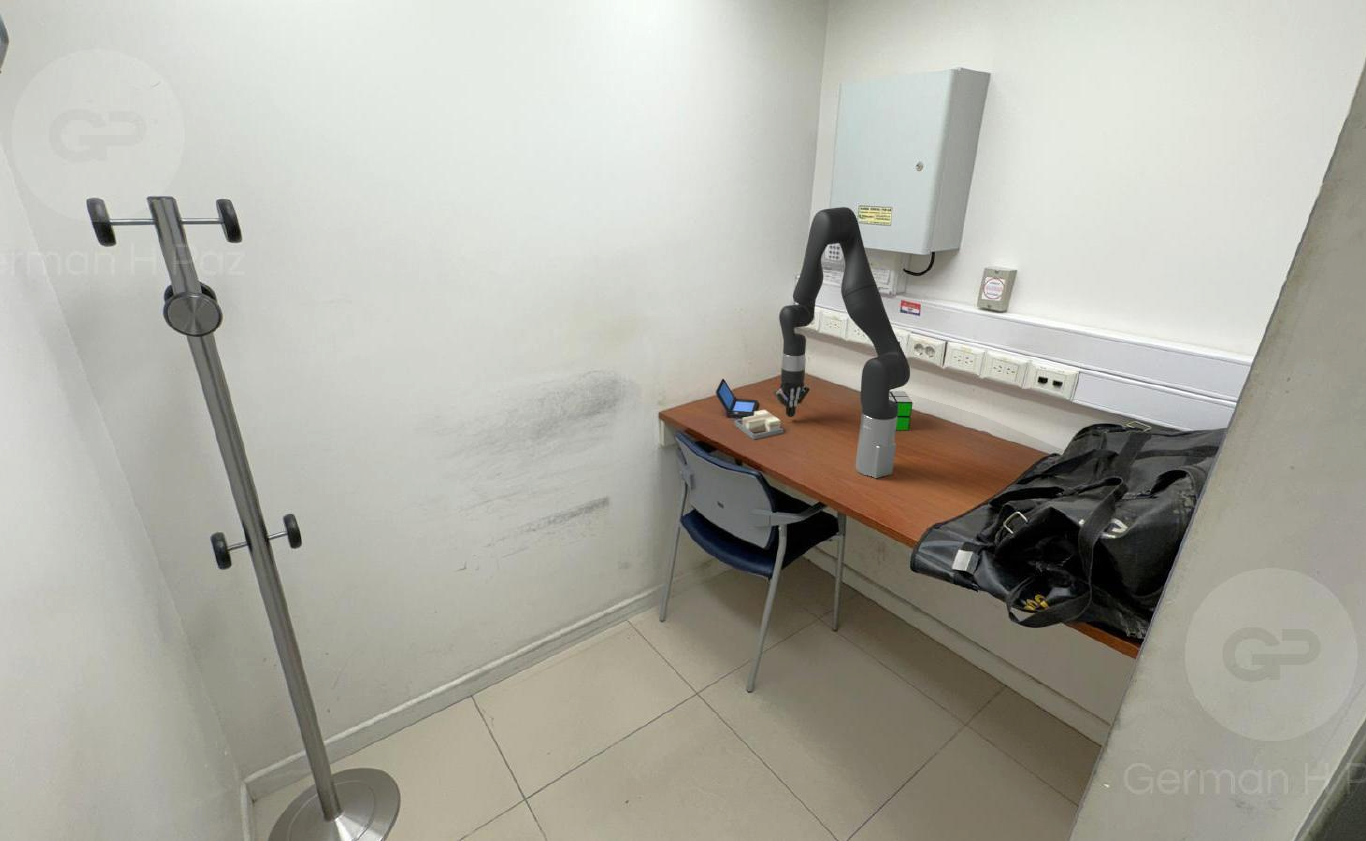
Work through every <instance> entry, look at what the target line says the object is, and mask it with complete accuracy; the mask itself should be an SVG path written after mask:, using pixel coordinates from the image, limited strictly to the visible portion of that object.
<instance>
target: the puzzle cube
mask: <svg viewBox="0 0 1366 841" xmlns="http://www.w3.org/2000/svg"><path fill="white" fill-rule="evenodd" d="M889 400H892V401H894V402H895V403H897V405H898V408H899V409H898V416H897V423H896V430H895V431H905V432H906V431H909V429H910V424H911V415H912V409H913V401H912V400H911V399H910V397H909V395H908V394H907V393H906V391H903V390H902V391H901V390H899V391H898V390H890V392H889Z"/></svg>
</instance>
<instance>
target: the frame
mask: <svg viewBox="0 0 1366 841" xmlns="http://www.w3.org/2000/svg"><path fill="white" fill-rule="evenodd" d="M742 423H743V418H738V419H736V420H733V426H735V427H736V428H737V429H738V430H740V431H742V432H743V433H745V434H746V435H747V436H748V437H750V438H751V439H752V440H754V441H755V440H759V439H763V438H767V437H771V436H776V435H780V434H784V428H782V427H780V429H776V430H772V431H767V432H766V431H761V432H759V433H758V432H757V433H752V432H751V431H749V430H748V429H747V428H745V427H744V426H743V425H742Z"/></svg>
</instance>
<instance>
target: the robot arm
mask: <svg viewBox="0 0 1366 841" xmlns="http://www.w3.org/2000/svg"><path fill="white" fill-rule="evenodd" d="M860 228H861V227H860V225H859V222H858V219H857V216H856V214H855V212H854V210H852V209H851V208H849V207H848V206H847V207H845V206H842V207H833V208H832V207H831V208H825V209H821V210H819V211H817V212H816V214H815V215H814V216H813V218H812V221H811V224H810V228H809V233H808V236H807V237H808V238H807V243H806V247H805V248H806V249H805V253H804V258H803V259H804V260H803V264H802V268H801V271H800V274H799V277H798V279H797V282H796V284H795V287H794V289H793V292H792V293H793V294H792V299H793V301H794V302H795V303H796V304H790V305H785V306H783V307H782V308H781V310H780V311H779V316H778V321H779V325H780V328H781V334H782V339H783V344H782V345H783V349H782V358H781V367H780V369H781V370H780V372H781V373H780V381H781V384H780V387H779V389H778V390H776V391H774V392H773V395H774V396H775V397H776V399H777V400H778V402H780V404H782V405H783V406H785V414H786V416H787V417H789V418H792V417H795V415H796V407H797V405H798V404H799V405H800V404H801V403H802V402H803V401H804V399H805V398H806V396H807V395H808V393H809V392H810V387H808V386H805V383H804V382H805V378H806V377H805V375H806V360H807V359H806V352H807V351H806V350H807V348H806V347H807V338H806V336H805V335H804V334H801V333H796V332H795V329H796V328H803V327H808V326H809V325H811V324H812V322H813V321H814V318H815V311H816V309H815V308H816V300H817V297H818V295H819V293H820V290H821V288H822V286H823V282H824V270H823V265H822V258H823V255H824V252H825V250H826V248H827V247H828V246H829V245H834V244H835V245H837V244H839V247H840V249H841V251H842V254H843V258H844V270H843V276H842V281H841V288H840V293H841V297H842V298H841V299H842V300H843V301H842V302H843V303H844V307H845V309H846V311H847V314H848V316H849V317H850V319H851V321H853V323H854V324H855V325H856V326H857V327H858V328H859V329H860V330H861V331H862V332H863V333H864V334H865V335H866V336H867V337H868V339H869V340H870V342H871V343H872V345H873V347H874V349H875V352H876V354H877V356H876V357H873V358H872V357H871V358H869V359H868V360H867V361H866V362H865V363H864V365H863V367H862V373H861V378H860V380H861V381H860V382H861V384H860V403H861V408H862V409H861V417H860V426H859V432H858V434H859V435H858V442H857V450H856V451H857V452H856V458H855V470H856V471H857V472H858V473H860V474H861V475H864V476H867V475H868V476H867V477H871V476H872V477H871V478H873V477H874V478H873V479H878V478H882V476H883V477H887V476H890V475H892V474H893V470H894V464H895V457H896V451H897V442H895V435H896V431H897V430H896V423H897V416H898V409H899V408H898V405H897V403H895V402H894V401H892V400H889V392H890V391H893V390H895V389H899V388H901V387H904V386H905V385H906V384H908V382H909V381H910V378H911V368H910V365H909V364H910V363H909V362H908V358H907V356H906V354H905V353H904V350H903V348H902V345H901V344H900V342H899V340H898V338H897V336H896V333H895V332H894V329H893V327H892V324H891V321H890V319H889V315H888V313H887V312H886V311H887V310H886V309H885V305H884V302H883V299H882V296H881V293H880V291H879V287H878V285H877V282H876V280H875V277H874V275H873V272H872V268H871V266H870V262H869V260H868V256H867V252H866V249H865V246H864V241H863V238H862V232H861V229H860Z"/></svg>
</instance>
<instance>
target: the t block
mask: <svg viewBox="0 0 1366 841" xmlns="http://www.w3.org/2000/svg"><path fill="white" fill-rule="evenodd" d="M742 419H743V423H742V424H741V425H743V426H744V427H745V428H747V429H748V430H749V431H751V432H752V433H753V434H755V433H758V432H759V433H760V432H767V431H772V430H776V429H781V422H782V421H781V419H779V418H778V417H776V416H774V414H771V413H770V412H769V411H768V410H767V409H761V410H756V411H754V416H749V417H744V418H742Z"/></svg>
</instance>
